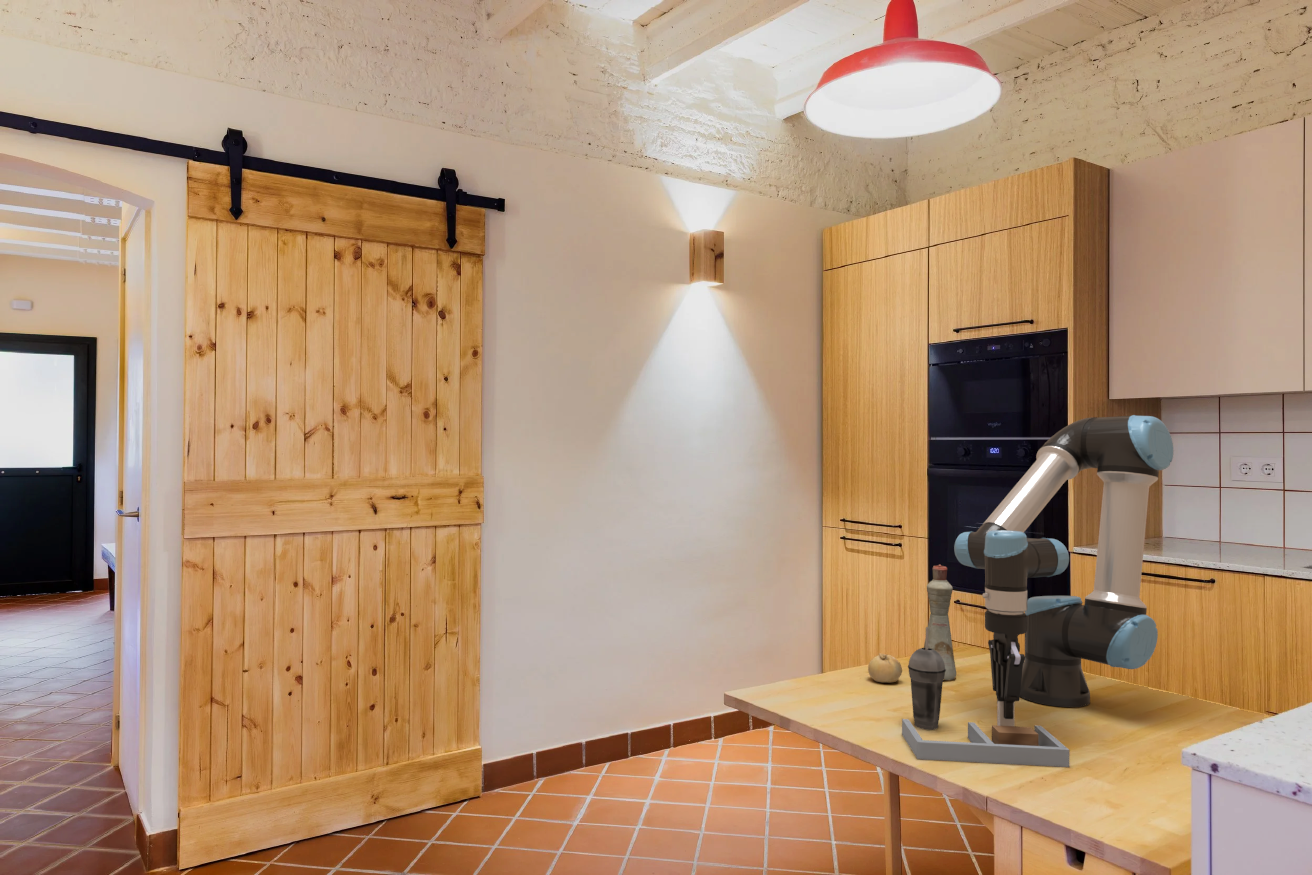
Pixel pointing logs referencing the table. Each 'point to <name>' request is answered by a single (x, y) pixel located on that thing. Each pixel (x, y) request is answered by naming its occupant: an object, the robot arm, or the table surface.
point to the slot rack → (988, 748)
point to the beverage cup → (926, 686)
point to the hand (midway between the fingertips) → (1005, 733)
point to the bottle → (940, 619)
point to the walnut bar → (1014, 735)
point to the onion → (884, 668)
